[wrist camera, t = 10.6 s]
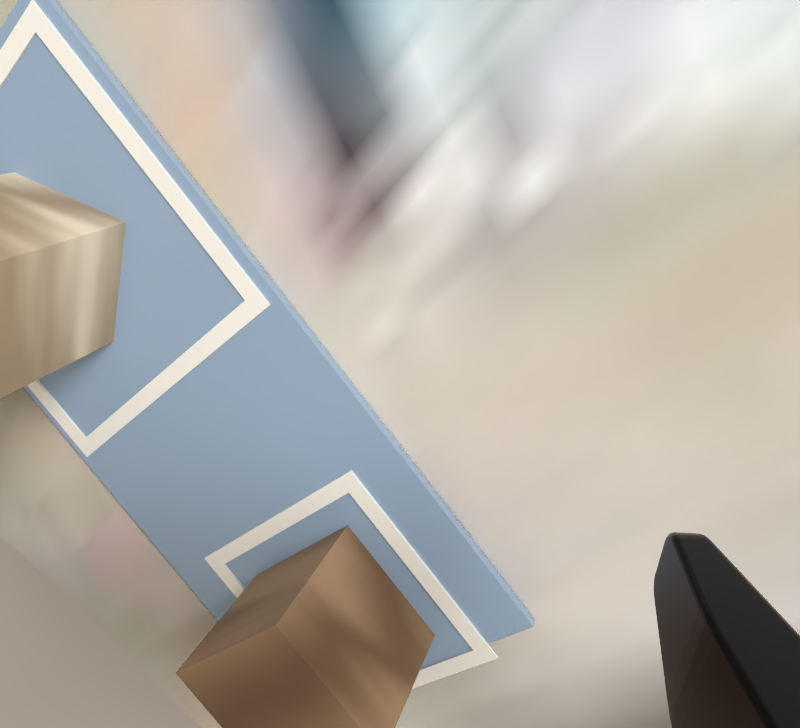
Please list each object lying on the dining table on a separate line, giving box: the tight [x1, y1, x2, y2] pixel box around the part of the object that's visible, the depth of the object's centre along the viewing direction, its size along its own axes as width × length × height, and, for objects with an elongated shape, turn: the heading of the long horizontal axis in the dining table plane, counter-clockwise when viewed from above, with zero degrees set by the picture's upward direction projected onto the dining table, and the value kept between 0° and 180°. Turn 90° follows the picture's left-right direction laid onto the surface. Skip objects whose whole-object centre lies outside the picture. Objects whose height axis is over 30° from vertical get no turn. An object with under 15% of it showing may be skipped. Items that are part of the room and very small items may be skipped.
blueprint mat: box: [0, 0, 535, 689], centre depth 25 cm, size 26×12×1 cm, turn 39°
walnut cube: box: [176, 525, 435, 728], centre depth 24 cm, size 5×5×5 cm
